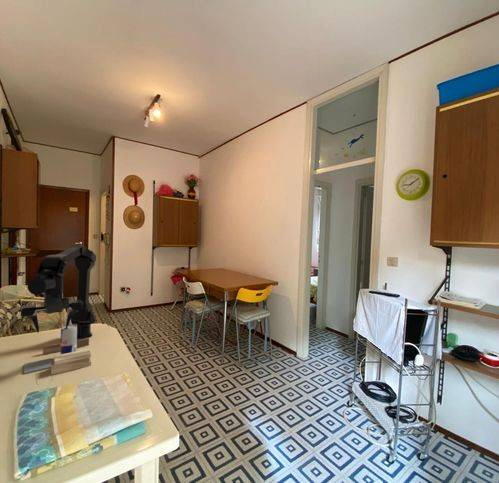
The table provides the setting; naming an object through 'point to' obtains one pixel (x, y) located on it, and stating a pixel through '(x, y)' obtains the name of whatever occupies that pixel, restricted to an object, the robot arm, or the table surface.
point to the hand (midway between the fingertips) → (52, 330)
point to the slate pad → (37, 365)
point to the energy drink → (68, 339)
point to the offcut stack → (70, 361)
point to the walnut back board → (57, 347)
